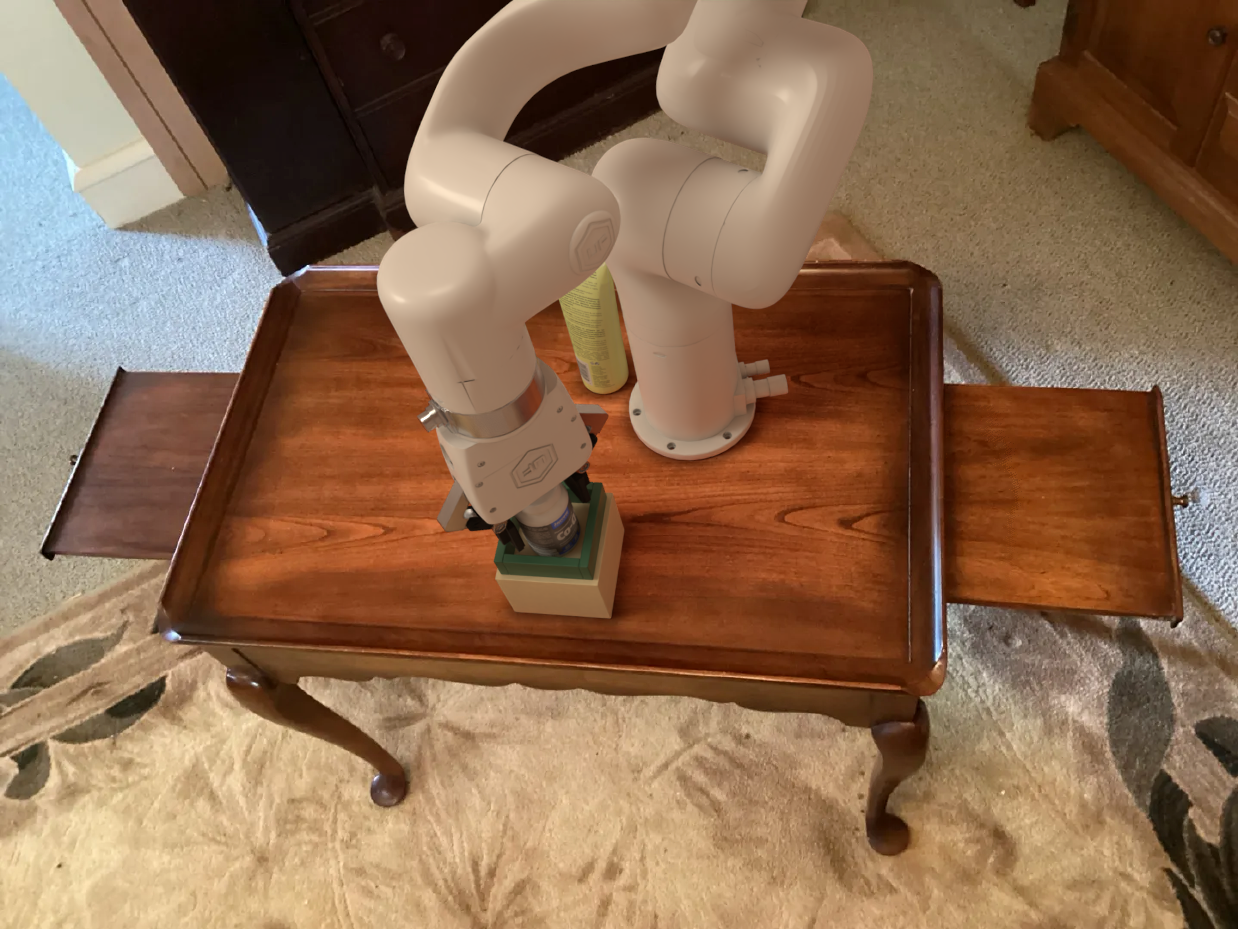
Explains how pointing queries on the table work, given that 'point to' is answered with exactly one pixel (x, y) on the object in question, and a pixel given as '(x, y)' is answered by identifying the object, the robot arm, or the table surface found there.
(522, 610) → the green rimmed box
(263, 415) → the table surface
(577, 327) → the tube
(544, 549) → the pill bottle
